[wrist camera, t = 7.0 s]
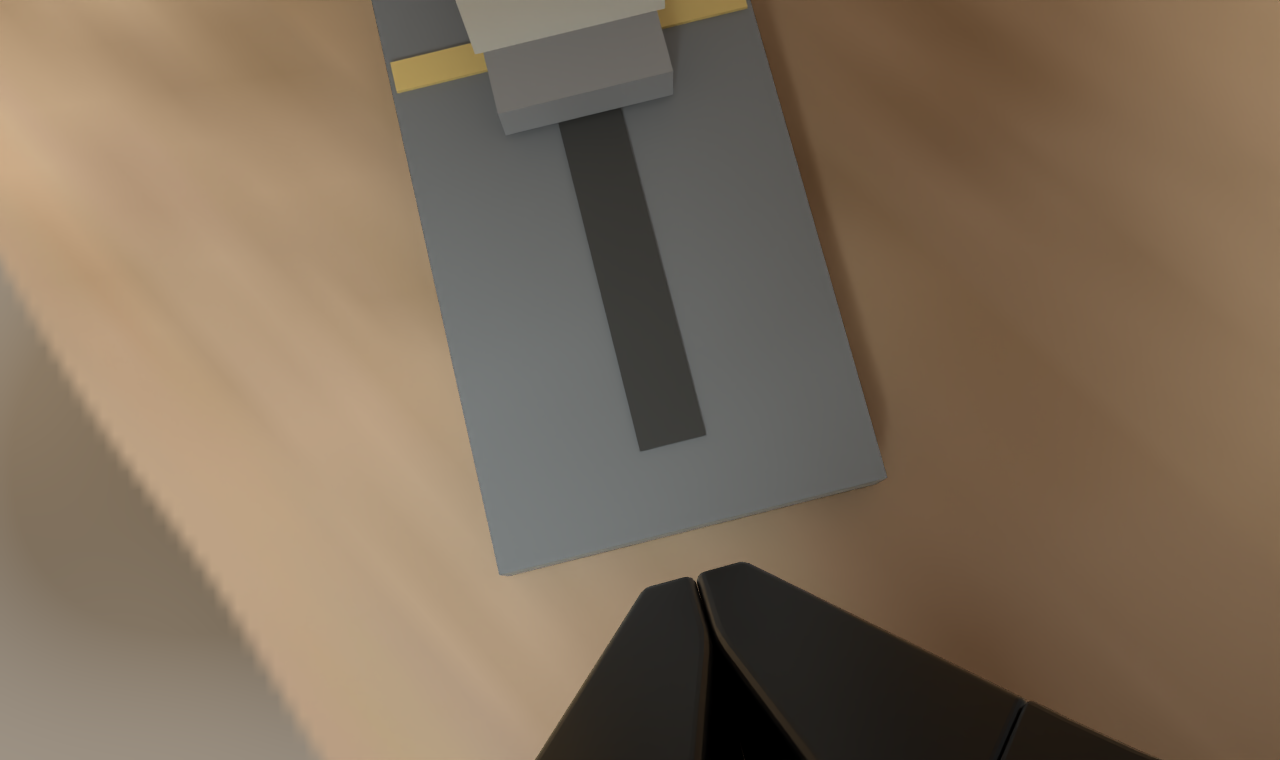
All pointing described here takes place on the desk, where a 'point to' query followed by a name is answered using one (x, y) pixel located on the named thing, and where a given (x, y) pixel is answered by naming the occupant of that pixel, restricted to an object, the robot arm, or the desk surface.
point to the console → (629, 293)
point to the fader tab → (568, 56)
